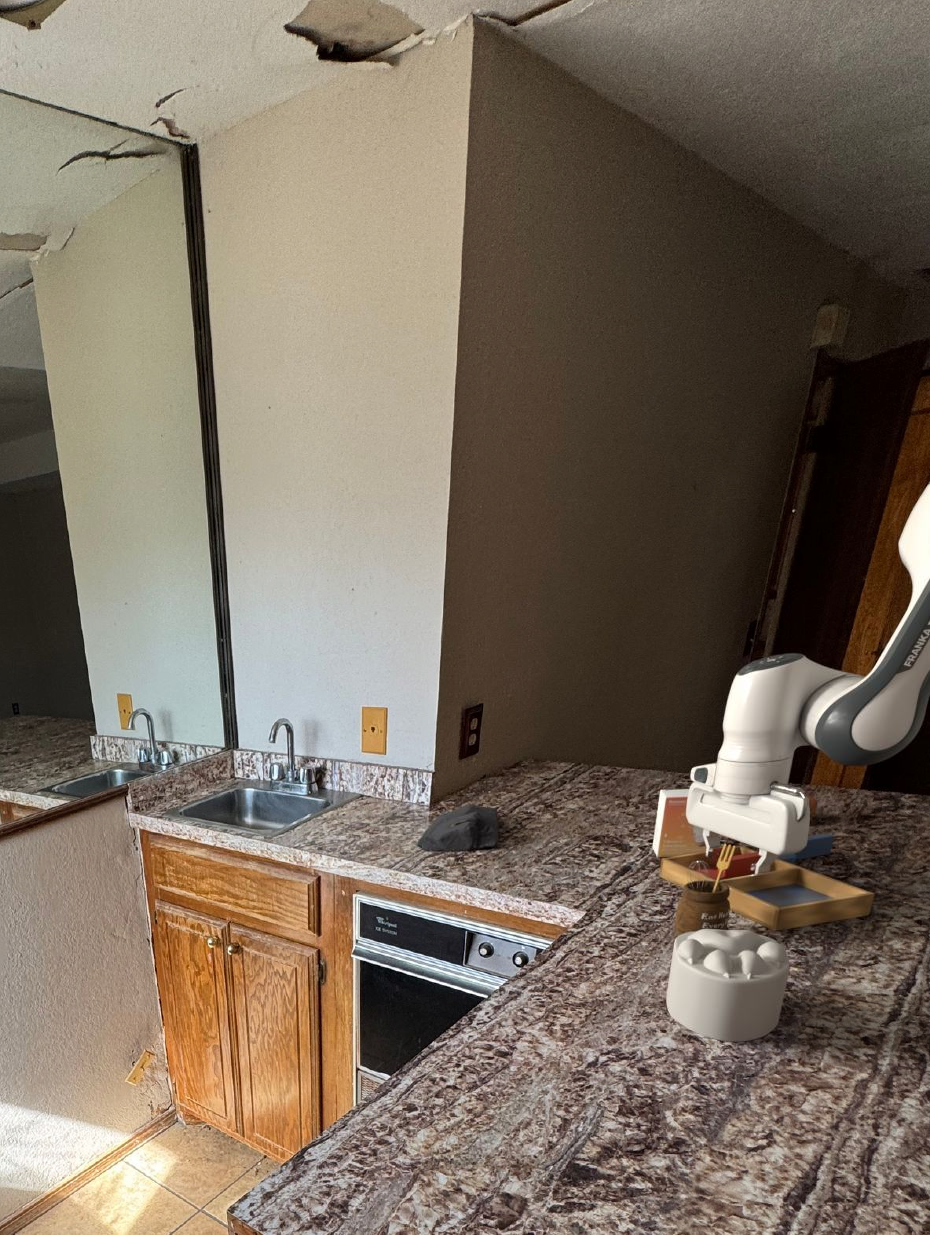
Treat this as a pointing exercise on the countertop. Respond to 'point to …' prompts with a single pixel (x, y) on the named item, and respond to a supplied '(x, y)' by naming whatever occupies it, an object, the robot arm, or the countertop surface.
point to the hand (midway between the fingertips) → (735, 866)
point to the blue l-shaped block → (811, 848)
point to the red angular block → (735, 866)
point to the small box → (675, 827)
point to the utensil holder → (705, 901)
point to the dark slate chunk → (462, 830)
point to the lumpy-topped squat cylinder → (727, 983)
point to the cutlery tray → (776, 892)
